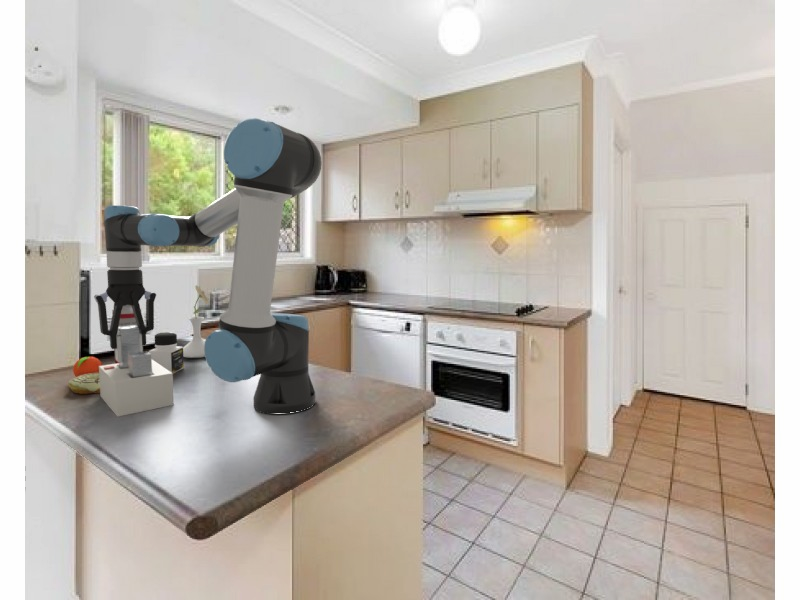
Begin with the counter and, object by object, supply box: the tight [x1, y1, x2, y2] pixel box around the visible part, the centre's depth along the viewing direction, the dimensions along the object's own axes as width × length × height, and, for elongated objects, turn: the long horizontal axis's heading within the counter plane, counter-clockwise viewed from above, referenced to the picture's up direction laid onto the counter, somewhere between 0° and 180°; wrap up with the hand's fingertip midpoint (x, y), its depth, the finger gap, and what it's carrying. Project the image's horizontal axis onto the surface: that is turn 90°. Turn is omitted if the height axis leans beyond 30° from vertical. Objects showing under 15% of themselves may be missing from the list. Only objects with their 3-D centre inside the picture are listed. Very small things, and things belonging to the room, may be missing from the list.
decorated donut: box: [68, 373, 100, 395], centre depth 120 cm, size 10×11×4 cm
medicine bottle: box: [148, 331, 185, 375], centre depth 138 cm, size 7×7×12 cm
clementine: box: [72, 356, 103, 377], centre depth 126 cm, size 8×7×7 cm
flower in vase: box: [182, 284, 211, 359], centre depth 156 cm, size 13×11×25 cm
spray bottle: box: [111, 305, 144, 364], centre depth 142 cm, size 8×8×25 cm
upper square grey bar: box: [117, 325, 140, 369], centre depth 115 cm, size 4×4×18 cm
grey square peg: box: [128, 350, 152, 378], centre depth 108 cm, size 4×4×13 cm
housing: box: [99, 359, 175, 418], centre depth 112 cm, size 12×18×8 cm, turn 44°
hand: (129, 359), depth 115 cm, fingers closed on upper square grey bar, 4 cm apart
